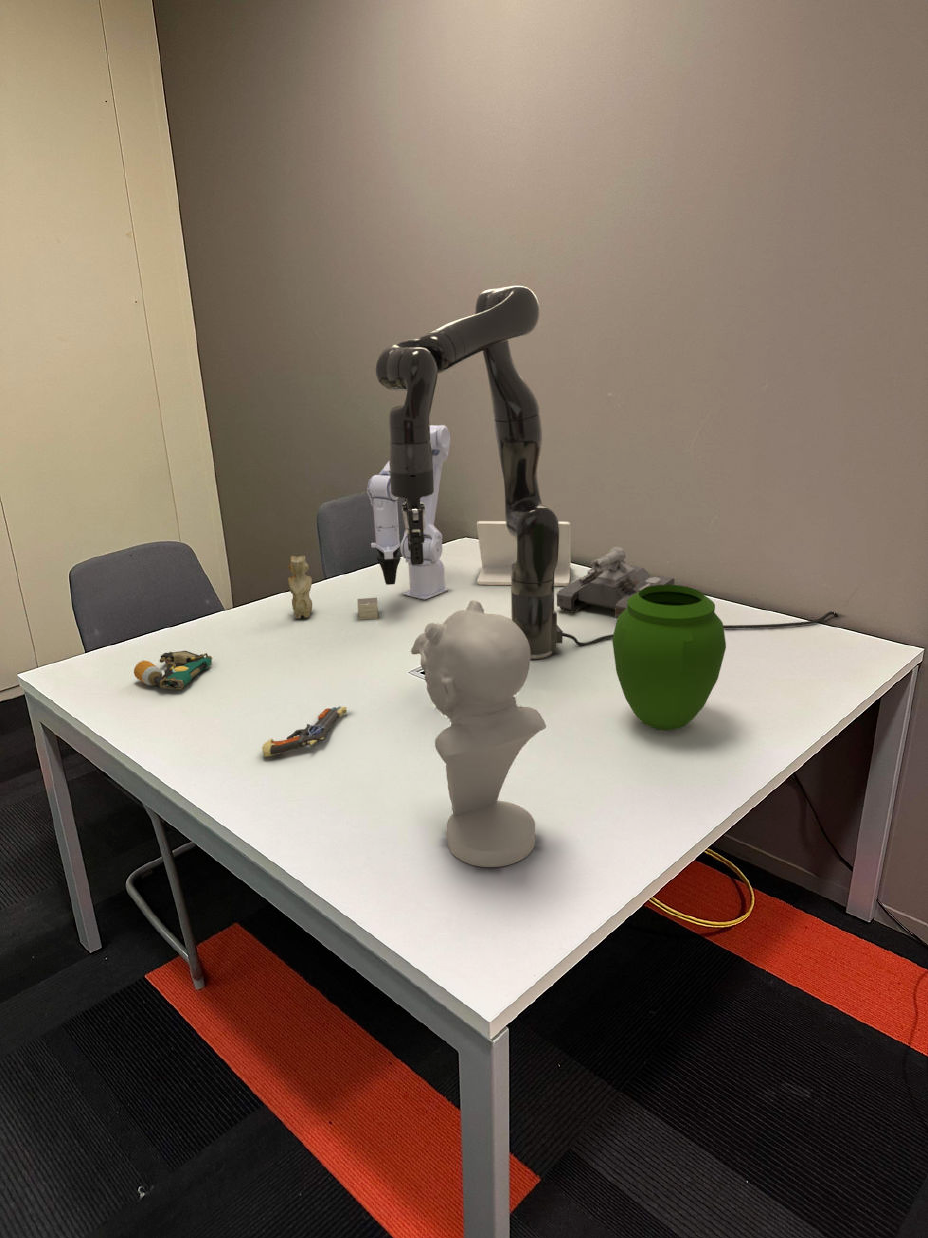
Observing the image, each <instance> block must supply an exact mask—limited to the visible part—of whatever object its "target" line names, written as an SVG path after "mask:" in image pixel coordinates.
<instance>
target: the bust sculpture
mask: <svg viewBox="0 0 928 1238" xmlns="http://www.w3.org/2000/svg"><path fill="white" fill-rule="evenodd" d="M530 653H531V652H530V646H529V643H528V640H527V638H526V636H525V634H524V633H523V632H522V630H521V629H520V628H519V627H518V626H517V625H516V624H515V623H514V622H513V621H512V620H511V618H508V617H507V616H504V615H503V614H502V615H501V614H496V613H485V609H484V607H483V605H482V603H481V602H480V601H478V600H473V599H472V600H470V601H469V603H468V605H467V607H466V609H460V610H457V611H455V612H453V613H451V615H449V616H448V617H447V618H446V619H445V620H444V622H442V624H441V623H435V622H430V623H428V624H427V625H426V626H425V628H424V632H423V633H421V634H419V635H418V636H417V637H416V638H415V640H414V642H413V645H412V647H411V649H410V654H412V655H420V667H421V669H422V670H423V672H424V681H425V682H426V690H427V693H428V696H429V698H430V701H431V702H432V704H434V706H435V708H436V710H438V711H439V712H440V713H441V714H442V716H446V717H447V718H448V719H449V720H450V726H448V727H446V728H445V729H443V730H442V731H441V732H440V733H439V734H438V735H436V738H435V741H434V748H435V749H436V752H437V753H438V755H439V757H440V758H441V760H442V761H443V762H444V763H445V771H446V781H447V790H448V796H449V800H450V803H451V810H452V813H451V814H450V815H449V817H448V819H447V822H446V844H447V847H448V849H449V851H450V852H451V854H452V855H453V856H454V857H456V858H457V859H459V860H460V861H462V862H463V863H466V864H469V865H471V866H476V867H483V868H498V867H505V866H509V865H512V864H517V862H520V861H521V860H523V859H525V858H527V856H528V855H530V854H531V852H532V851H533V849H535V848H534V847H535V845H536V822H535V821H536V820H535V819H534V817H533V816H532V814H531V813H530V812H529V811H528V810H526V809H525V808H524V807H522V806H520V805H517V804H515V803H513V802H509V801H504V800H499V796H500V793H501V790H502V788H503V785H504V783H505V780H506V778H507V776H508V773H509V771H510V769H511V768H512V765H513V763H514V761H515V760H516V759H517V756H518V755H519V753H520V752H521V750H522V749H523V748H524V747H525V745H526V744H527V743H528V742H529V741H530V740H531V739H532V738H533V737H535V735H537V734H538V733H539V732H541V731H544V730H545V729H546V728H547V725H546V723H545V720H544V718H543V717H542V714H541V713H540V712H539V711H538V710H537V709H535V708H533V707H530V706H518V705H517V701H516V699H517V698H516V696H515V695H516V694H517V693H519V691H521V689H522V688H523V686H524V684H525V683H526V680H527V678H528V675H529V669H530V666H531V659H530V656H531V655H530Z"/></svg>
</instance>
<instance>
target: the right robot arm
mask: <svg viewBox="0 0 928 1238" xmlns="http://www.w3.org/2000/svg"><path fill="white" fill-rule="evenodd" d="M474 311H475V312H474V313H475V314H473V315H469V316H466V317H462V318H460V319H456V320H452V321H450V322H447V323H444V324H442V325H441V326H439V327H437V328H435V329H433V330H431V331H429V332H428V333H426V334H424V335H422V336H419V337H415V338H411V339H407V340H403V341H400V342H397V343H395V344H392V345H390V346H388V347H387V348H385V349H384V350H383V351H381V352H380V354H379V355H378V357H377V359H376V362H375V365H374V366H375V367H374V373H375V378H376V379H377V381H378V382H379V384H380V385H381V386H382V387H384V388H386V389H388V390H391V391H403V392H406V395H405V399H404V402H403V404H400V405H396V406H393V407H391V408H390V410H389V411H388V419H387V421H388V422H387V423H388V438H389V439H388V440H389V449H388V450H389V451H388V461H389V466H390V483H391V493H392V495H393V496H395V497H398V499H403V498H404V503H401V514H402V518H403V524H404V528H405V529H404V531H405V530H406V532H407V535H408V549H409V551H410V556H411V564H412V565H419V564H423V562H424V561H423V543H424V541H425V538H424V537H425V536H424V531H425V519H424V516H425V506H424V503H420V499H421V497H426V496H429V495H431V494H432V493H433V492H434V482H433V457H432V449H431V442H430V425H431V424H430V415H431V410H432V406H433V402H434V396H435V393H436V392H435V391H436V387H437V384H438V383H437V382H438V375H439V374H443V373H445V372H448V371H449V370H450V369H452V368H454V367H456V366H457V365H459V364H461V363H463V362H464V361H466V360H468V359H469V358H471V357H473V356H475V355H477V354H479V353H481V352H482V356H483V360H484V364H485V368H486V373H487V378H488V379H487V380H488V385H489V390H490V391H489V392H490V397H491V404H492V413H493V414H492V415H493V423H494V429H495V430H494V431H495V436H496V442H497V448H498V454H499V461H500V467H501V471H502V472H501V473H502V477H503V478H502V479H503V487H504V513H505V514H504V516H505V521H506V526H507V529H508V532H509V533H510V535H511V536H512V537H513V538H514V539H515V540H516V541H517V560H516V562H514V563H513V564H512V566H511V585H510V588H511V589H510V597H511V599H510V603H511V604H510V606H511V607H510V609H511V610H510V615H511V617H510V619H511V620H512V621H513V622H514V623H515V624H516V625H517V626H518V627H519V628H520V629H521V630H522V632H523V633H524V634H525V636H526V638H527V640H528V643H529V646H530V652H531V653H530V655H531V656H530V660H540V659H545V658H548V657H550V656H552V655H557V654H558V653H557V650H558V649H557V648H558V647H557V645H558V644H563V638H568V639H571V640H572V641H573V642H574V643H575V644H576V645H577V646H581V647H586V646H590V645H593V644H594V645H595V644H597V643H598V642H602V641H604V640H607V639H608V640H609V639H612V638H613V634H614V633H613V634H608V635H607V634H606V635H603V636H600V637H597V638H595V639H593V640H591V641H587V642H582V641H581V642H580V641H579V640H578V639H577V638H576V637H575V636H574V635H572V634H569V633H565V632H563V630H562V629H561V627H560V626H559V625H558V613H557V612H556V611H555V586H554V572H555V568H556V566H557V563H558V551H559V523H558V522H559V519H558V517H557V514H556V513H555V512H554V511H553V510H552V509H550V508H549V507H548V506H545V505H544V504H543V501H542V498H541V494H540V488H539V482H538V466H539V460H540V455H541V451H542V450H541V449H542V444H543V429H542V421H541V420H542V419H541V412H540V411H541V410H540V405H539V402H538V400H537V398H536V396H535V394H534V393H533V391H532V390H531V387H530V386H529V384H527V382H526V381H525V379H524V378H523V377H522V374H521V373H520V372H519V371H518V369H517V367H516V365H515V362H514V360H513V357H512V353H511V348H510V343H509V340H511V339H518V338H522V337H525V336H527V335H530V333H532V332H533V331H534V329H536V327H537V324H538V321H539V317H540V305H539V301H538V298H537V296H536V294H535V293H534V292H533V291H532V289H530V288H529V287H526V286H522V285H511V286H503V287H497V288H490V289H486V290H483V291H481V292H480V294H478V296H477V298H476V302H475V308H474ZM832 611H833V610H831V611H828V612H826V613H825V614H824V615H822V616H821V617H819V618H817V619H814V620H808V621H799V622H797V621H796V622H786V623H772V624H769V623H768V624H735V625H733V624H732V625H731V624H730V625H729V624H728V625H724V624H723V627H724V630H725V629H763V628H764V629H766V628H768V629H769V628H783V627H796V626H797V627H798V626H807V625H814V624H817V623H820V622H822V621H824V620H825V619H827V618H828V617H829V616H831V615H833V616H834V617H837V618H838V617H839V614H838V613H837V612H835V611H833V612H832ZM834 612H835V614H834Z"/></svg>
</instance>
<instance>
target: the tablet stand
mask: <svg viewBox="0 0 928 1238" xmlns="http://www.w3.org/2000/svg"><path fill="white" fill-rule="evenodd" d="M558 523H559V551H558V563H557V566H556V568H555V572H554V587H556V586H557V587H566V586H567V585H569V584H570V580H571V579H570V578H571V565H572V564H571V560H572V558H571V522H569V521H558ZM476 531H477V537H478V544H479V551H480V557H481V558H480V559H481V570H480V573H479V575H478V577H477V580H476V581H477V582H476V584H478V585H484V586H485V585H486V586H487V585H489V586H490V585H491V586H511V566H512V564H513V563H514V562H516V560H517V541H516V540H515V539H514V538H513V537H512V536H511V535H510V533H509V532H508V529H507V526H506V520H505V521H504V520H477V522H476Z"/></svg>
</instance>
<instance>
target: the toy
mask: <svg viewBox="0 0 928 1238" xmlns="http://www.w3.org/2000/svg"><path fill="white" fill-rule="evenodd" d="M626 557H627V556H626V551H625V549H624V548H622V547H621V546H614V547H612V548H611V549H610V550H609V552H608V553H607V554H605V555H604V556H601V557H599V558H598V559H597V557H596V558H594V559H593V560H592V561H590V562H589V563H590V564H591V565H592V567H591V568H590V569H589V570H587V573H586V575H584V576H582V577H580V578H578V579H577V580H575V581H573V582H570V583H569V585H567V586H563V587H562V588H560V589H559V590H558V591H557V592H556V607H558V608H559V609H560V610H562V611H566V612H572V613H575V612H577V611H579V610H581V609H582V608H585V607H586V606H588V605H592V606H598V607H602V608H603V607H604V608H609V609H613V610H614V618H615V619H616V620H617V619H618V616H619V615H620V614H621V613H622V612H623V611H624V610H625V609H626V608H627V601H628V599H629V598H630V597H631V596H632V595H634V594H636V593H638V592H639V591H640V590H642V589H644V588H646V587H650V586H656V585H675V580H676V579H675V578H673V577H668V576H663V575H656V576H655V577H654V576H651V574H650V573H649V572H648V571H647V570H646V568H644V567H641V566H635V565H629V564H628V563H627V562H626V561H625V559H626Z"/></svg>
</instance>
